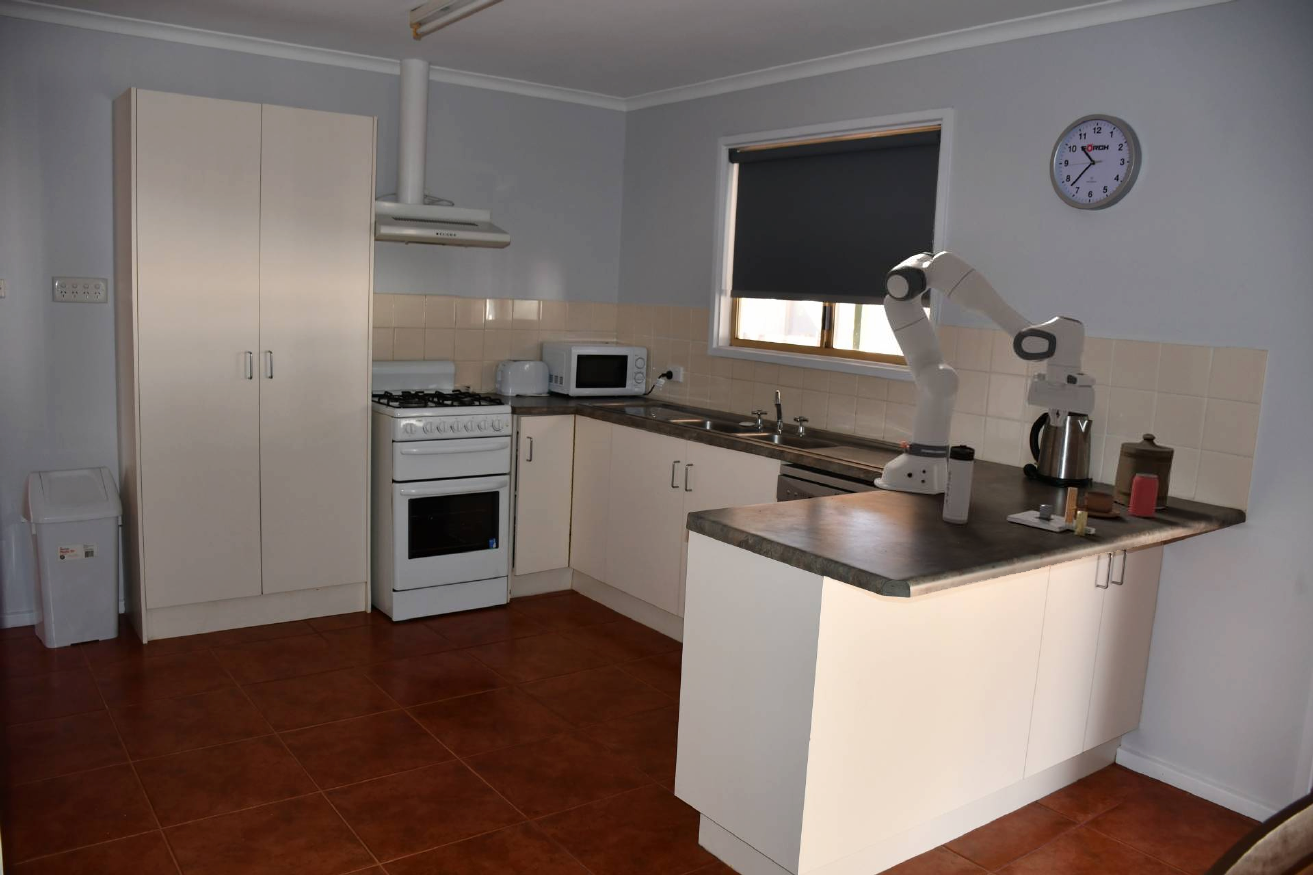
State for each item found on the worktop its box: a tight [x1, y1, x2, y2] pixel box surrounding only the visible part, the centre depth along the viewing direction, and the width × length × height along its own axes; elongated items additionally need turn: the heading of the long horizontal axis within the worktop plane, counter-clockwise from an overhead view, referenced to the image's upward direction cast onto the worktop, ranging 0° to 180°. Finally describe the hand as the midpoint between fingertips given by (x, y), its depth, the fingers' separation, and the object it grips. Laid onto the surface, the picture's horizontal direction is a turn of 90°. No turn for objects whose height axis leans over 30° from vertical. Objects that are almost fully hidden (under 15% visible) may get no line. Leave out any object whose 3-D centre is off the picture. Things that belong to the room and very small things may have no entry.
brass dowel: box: [1074, 510, 1088, 537], centre depth 253 cm, size 2×2×6 cm
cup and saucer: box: [1075, 491, 1122, 519], centre depth 281 cm, size 12×12×6 cm
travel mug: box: [942, 444, 976, 525], centre depth 259 cm, size 6×7×20 cm
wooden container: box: [1112, 433, 1175, 508], centre depth 300 cm, size 15×15×22 cm
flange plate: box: [1006, 486, 1096, 535], centre depth 261 cm, size 20×14×10 cm
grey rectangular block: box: [1038, 504, 1053, 521], centre depth 264 cm, size 3×3×5 cm
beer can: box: [1128, 473, 1159, 518], centre depth 283 cm, size 7×7×12 cm
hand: (1056, 425), depth 274 cm, fingers closed
